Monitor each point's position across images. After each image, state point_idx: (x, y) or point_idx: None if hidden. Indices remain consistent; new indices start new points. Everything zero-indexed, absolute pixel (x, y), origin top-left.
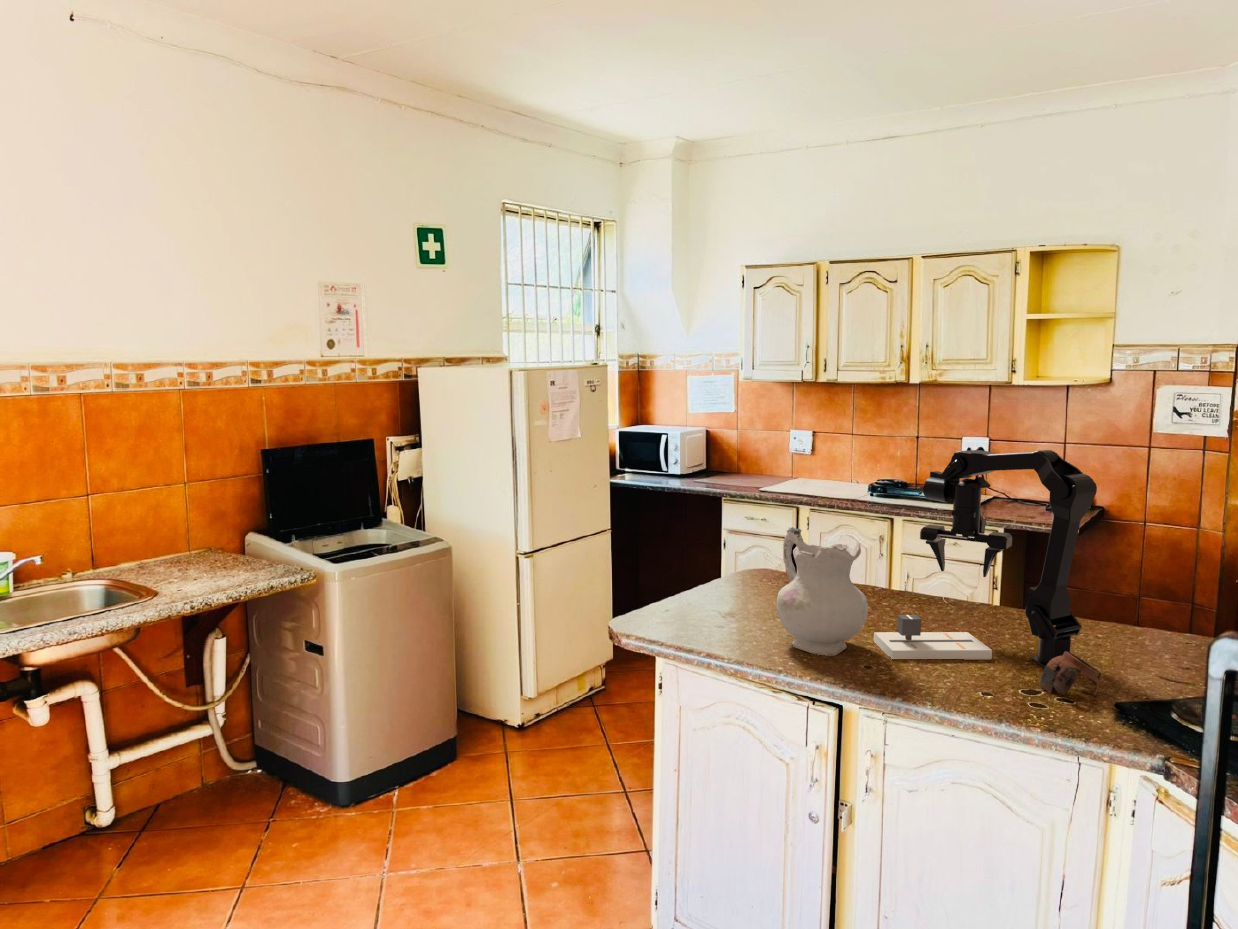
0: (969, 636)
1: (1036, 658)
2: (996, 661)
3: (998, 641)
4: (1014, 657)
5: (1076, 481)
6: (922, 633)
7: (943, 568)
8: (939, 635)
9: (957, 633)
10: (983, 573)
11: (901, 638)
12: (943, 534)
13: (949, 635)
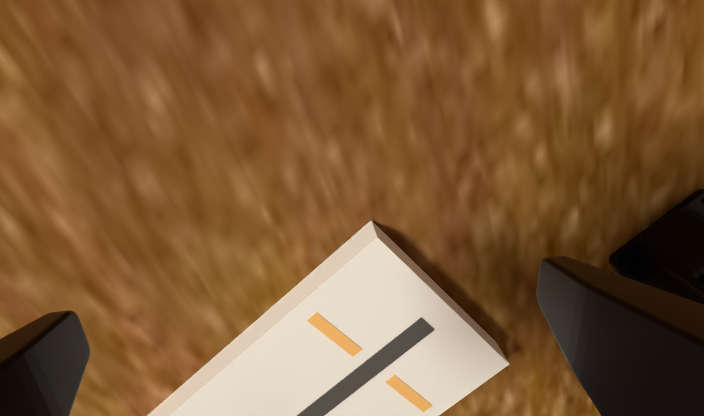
0: (402, 285)
1: (631, 270)
2: (511, 344)
3: (476, 134)
4: None
5: None
6: (244, 369)
7: (71, 367)
8: (305, 348)
9: (350, 281)
10: (561, 342)
11: None
12: None
13: (335, 325)
